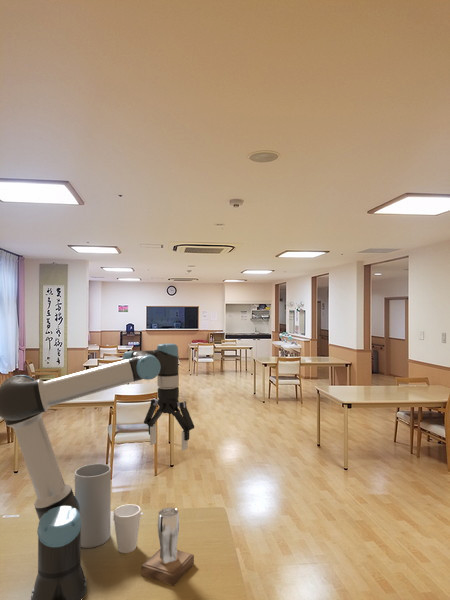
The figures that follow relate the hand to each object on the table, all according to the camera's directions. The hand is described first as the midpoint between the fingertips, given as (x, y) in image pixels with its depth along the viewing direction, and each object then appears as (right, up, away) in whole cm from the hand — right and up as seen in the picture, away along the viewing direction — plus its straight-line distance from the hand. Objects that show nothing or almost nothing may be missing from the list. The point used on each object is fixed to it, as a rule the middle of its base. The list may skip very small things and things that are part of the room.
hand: (168, 446), depth 146 cm
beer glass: (+2, -31, -14) cm, 35 cm away
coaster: (+2, -34, -14) cm, 37 cm away
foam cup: (-14, -35, -2) cm, 38 cm away
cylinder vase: (-28, -35, +3) cm, 45 cm away
